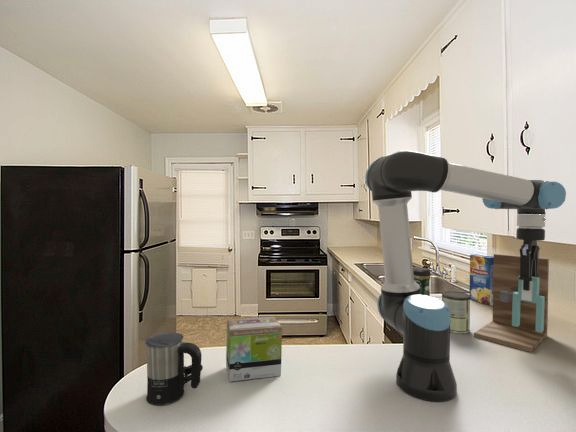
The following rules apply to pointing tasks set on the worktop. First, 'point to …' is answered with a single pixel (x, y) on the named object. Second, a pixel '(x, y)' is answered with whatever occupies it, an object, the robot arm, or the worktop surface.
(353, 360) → the worktop surface
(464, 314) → the coffee can
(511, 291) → the hook arm
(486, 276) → the juice carton
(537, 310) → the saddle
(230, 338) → the tea box
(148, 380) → the milk frother
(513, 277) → the hook stand
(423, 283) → the coffee jar
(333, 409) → the worktop surface
